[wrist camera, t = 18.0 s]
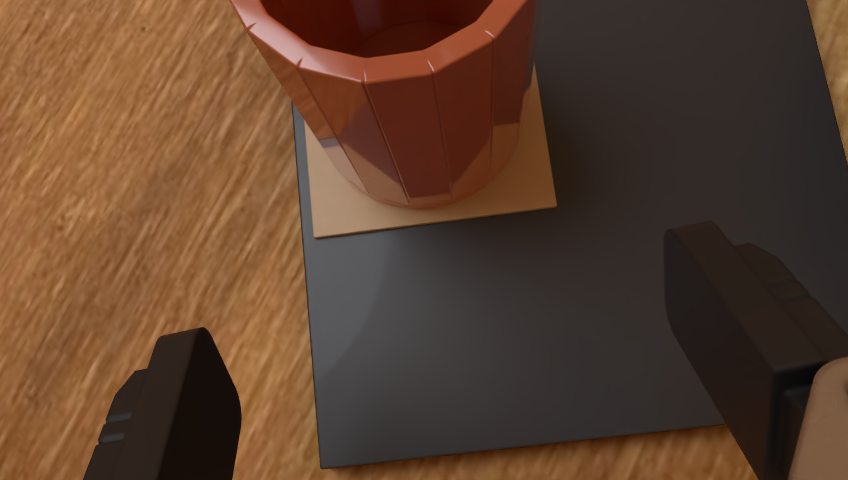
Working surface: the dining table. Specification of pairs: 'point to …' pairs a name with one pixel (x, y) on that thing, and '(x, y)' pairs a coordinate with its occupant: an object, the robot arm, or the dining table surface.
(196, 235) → the dining table surface
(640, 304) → the board
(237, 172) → the dining table surface
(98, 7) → the dining table surface
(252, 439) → the dining table surface
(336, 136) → the pot
